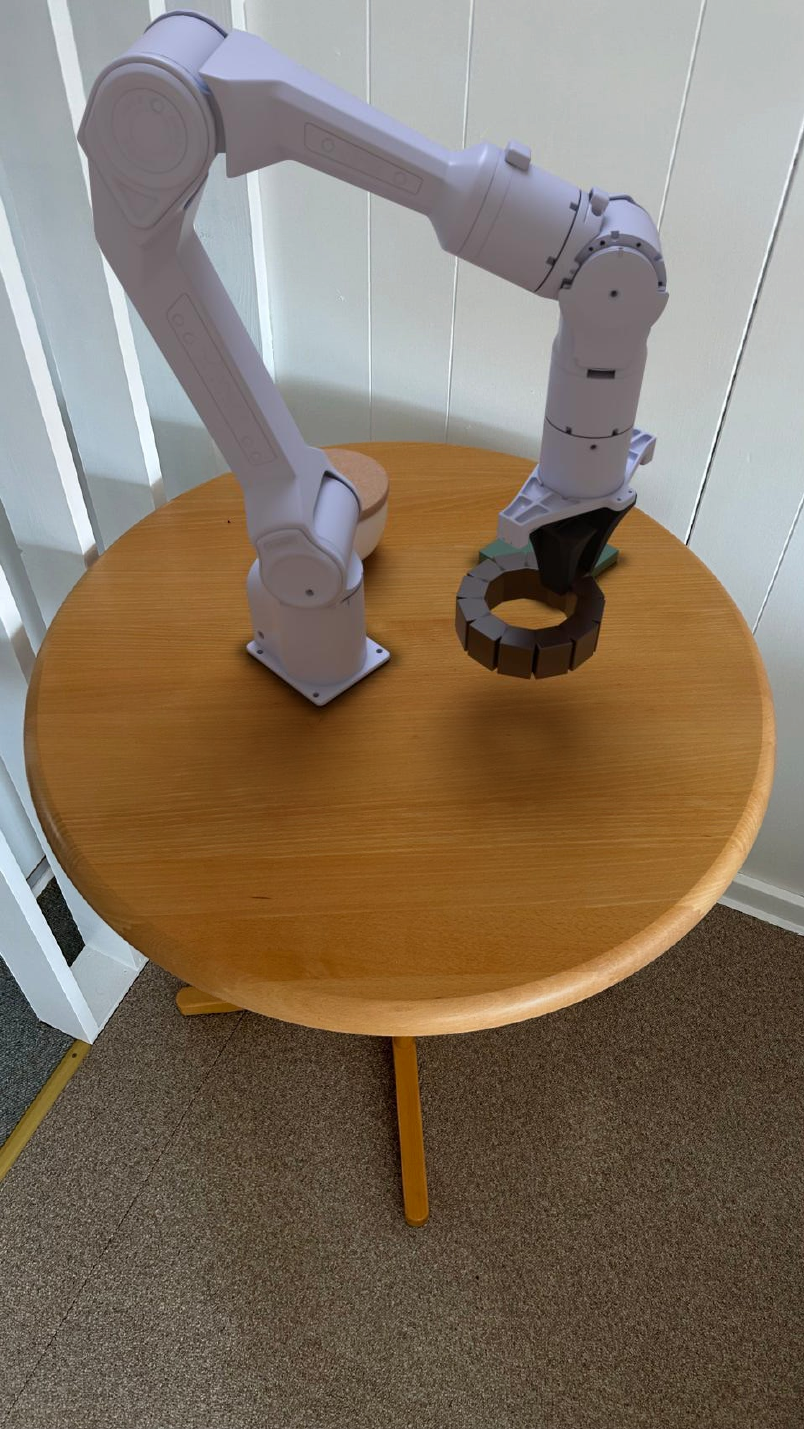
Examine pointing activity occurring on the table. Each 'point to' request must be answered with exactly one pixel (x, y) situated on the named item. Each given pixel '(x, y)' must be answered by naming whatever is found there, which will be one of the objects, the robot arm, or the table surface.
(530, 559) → the ring
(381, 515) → the trinket box
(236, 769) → the table surface
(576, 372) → the robot arm
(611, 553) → the peg stand
